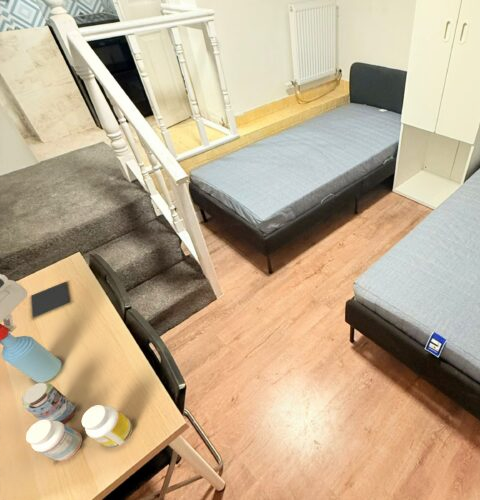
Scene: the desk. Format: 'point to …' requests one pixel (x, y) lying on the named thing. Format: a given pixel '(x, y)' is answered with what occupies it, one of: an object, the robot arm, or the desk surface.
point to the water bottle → (30, 357)
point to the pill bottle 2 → (106, 425)
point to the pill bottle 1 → (54, 439)
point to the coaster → (49, 299)
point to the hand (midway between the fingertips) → (3, 338)
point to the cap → (3, 332)
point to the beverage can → (48, 403)
